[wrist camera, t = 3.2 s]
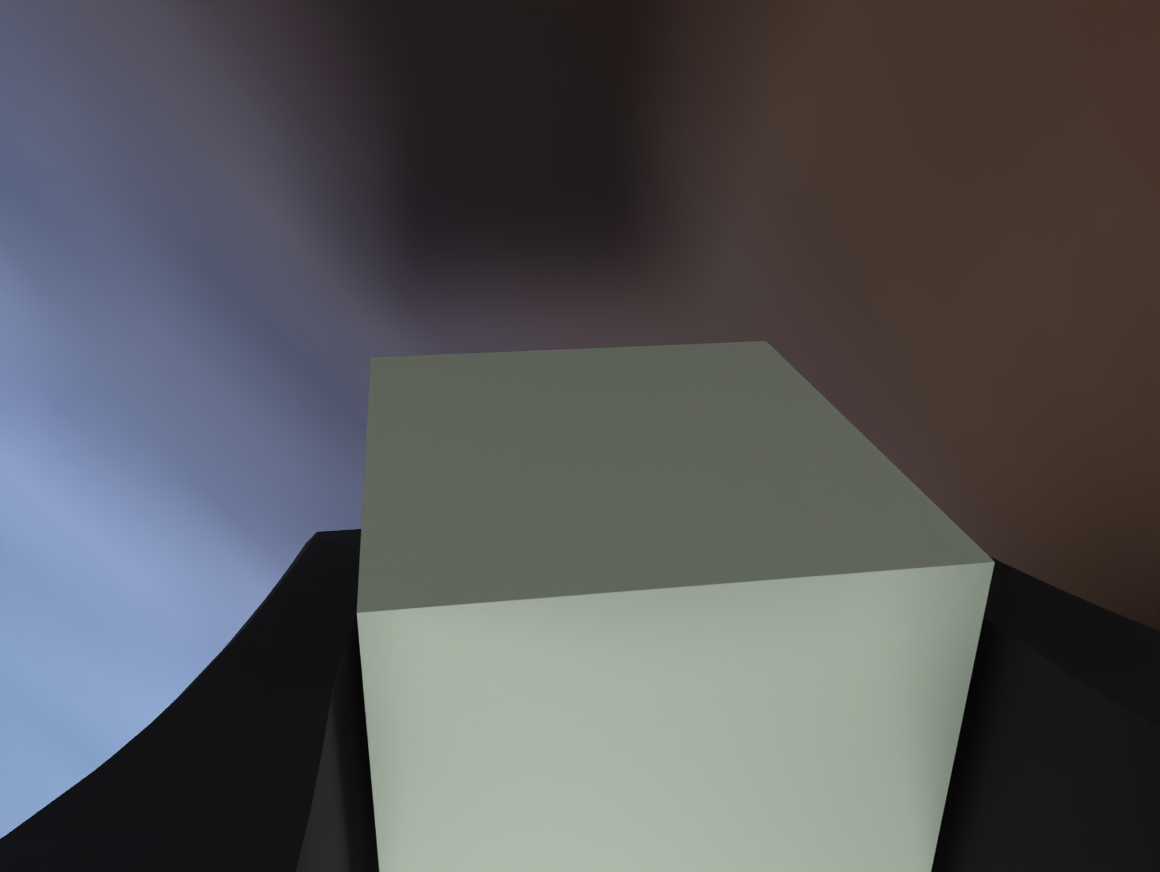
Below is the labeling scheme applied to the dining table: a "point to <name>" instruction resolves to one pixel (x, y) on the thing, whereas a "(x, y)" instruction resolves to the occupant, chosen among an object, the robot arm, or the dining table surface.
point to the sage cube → (652, 619)
